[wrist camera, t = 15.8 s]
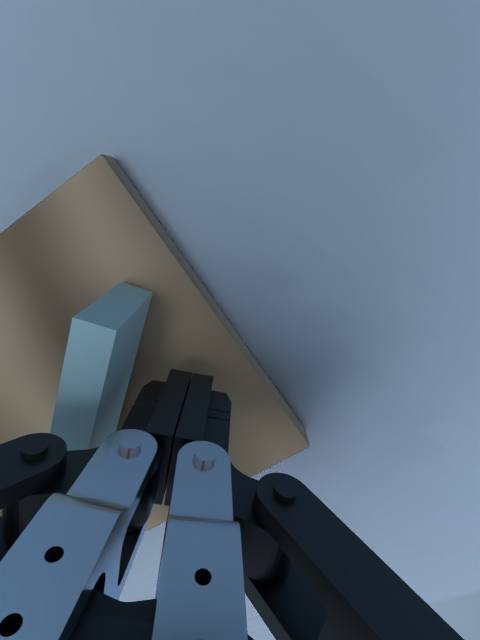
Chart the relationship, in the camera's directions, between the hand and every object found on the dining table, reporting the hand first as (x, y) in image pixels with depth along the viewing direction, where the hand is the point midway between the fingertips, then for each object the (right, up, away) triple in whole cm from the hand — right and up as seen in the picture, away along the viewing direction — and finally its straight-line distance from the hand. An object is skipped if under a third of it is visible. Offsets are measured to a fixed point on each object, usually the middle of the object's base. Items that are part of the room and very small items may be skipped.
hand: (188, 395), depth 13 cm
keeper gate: (-3, 0, +1) cm, 3 cm away
